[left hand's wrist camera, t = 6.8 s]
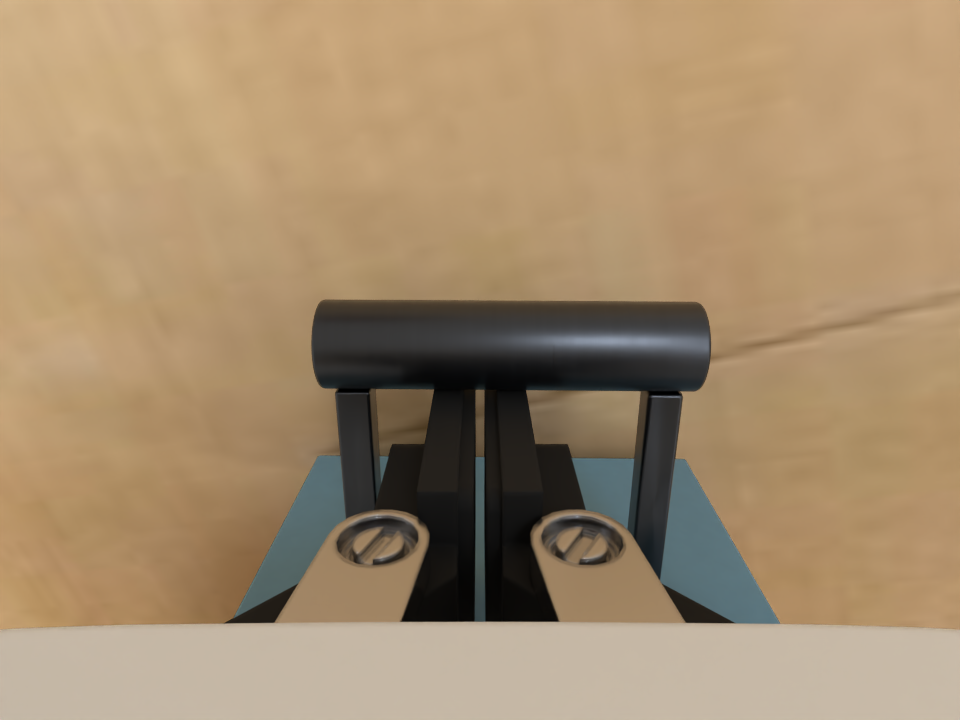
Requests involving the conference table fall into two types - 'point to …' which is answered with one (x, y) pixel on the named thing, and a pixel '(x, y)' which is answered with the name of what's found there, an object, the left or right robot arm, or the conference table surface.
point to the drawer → (524, 366)
